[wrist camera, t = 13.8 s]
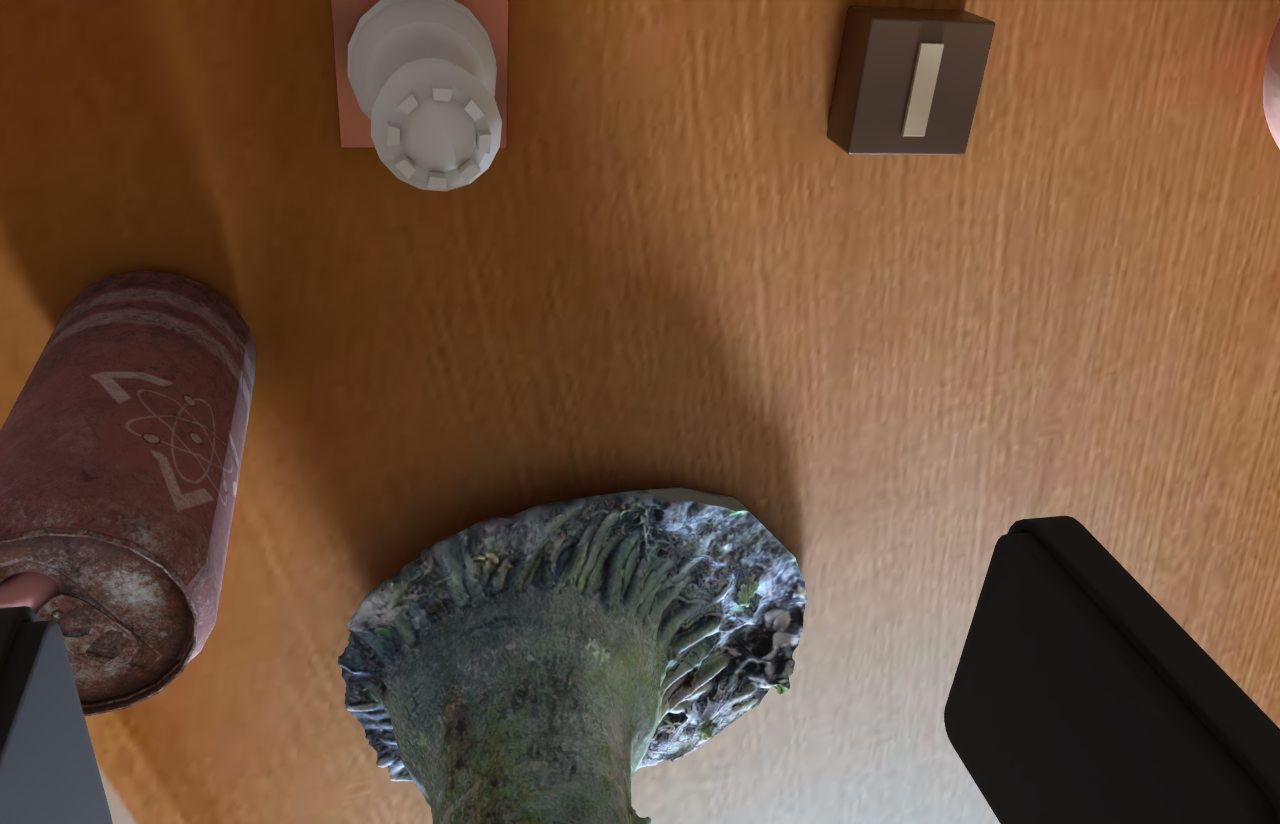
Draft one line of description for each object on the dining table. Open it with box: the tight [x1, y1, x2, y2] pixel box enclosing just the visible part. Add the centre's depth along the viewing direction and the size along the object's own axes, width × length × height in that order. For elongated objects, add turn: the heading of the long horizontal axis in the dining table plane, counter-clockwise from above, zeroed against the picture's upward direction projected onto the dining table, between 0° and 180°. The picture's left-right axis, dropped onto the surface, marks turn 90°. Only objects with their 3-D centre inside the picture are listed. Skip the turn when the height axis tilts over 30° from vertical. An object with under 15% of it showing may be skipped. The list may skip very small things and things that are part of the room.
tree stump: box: [338, 487, 807, 824], centre depth 41 cm, size 18×20×18 cm
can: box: [0, 270, 257, 716], centre depth 29 cm, size 6×6×14 cm
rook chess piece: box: [348, 0, 502, 191], centre depth 29 cm, size 4×4×8 cm
